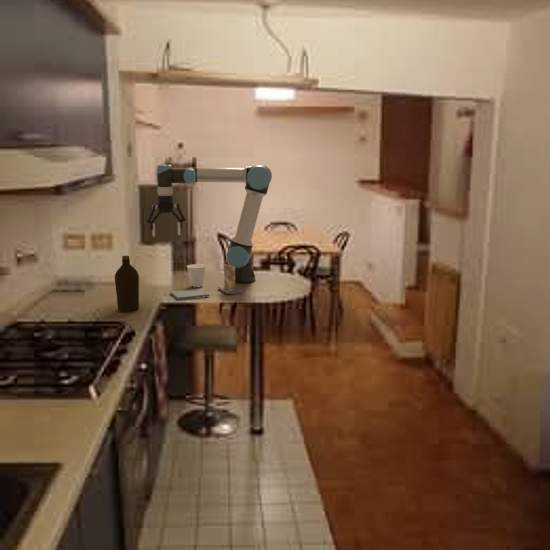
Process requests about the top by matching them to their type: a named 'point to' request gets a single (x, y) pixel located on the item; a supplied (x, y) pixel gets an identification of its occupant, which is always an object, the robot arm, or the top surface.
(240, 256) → the robot arm
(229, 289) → the stub
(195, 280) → the cup
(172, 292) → the board
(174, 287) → the top surface
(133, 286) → the olive oil
